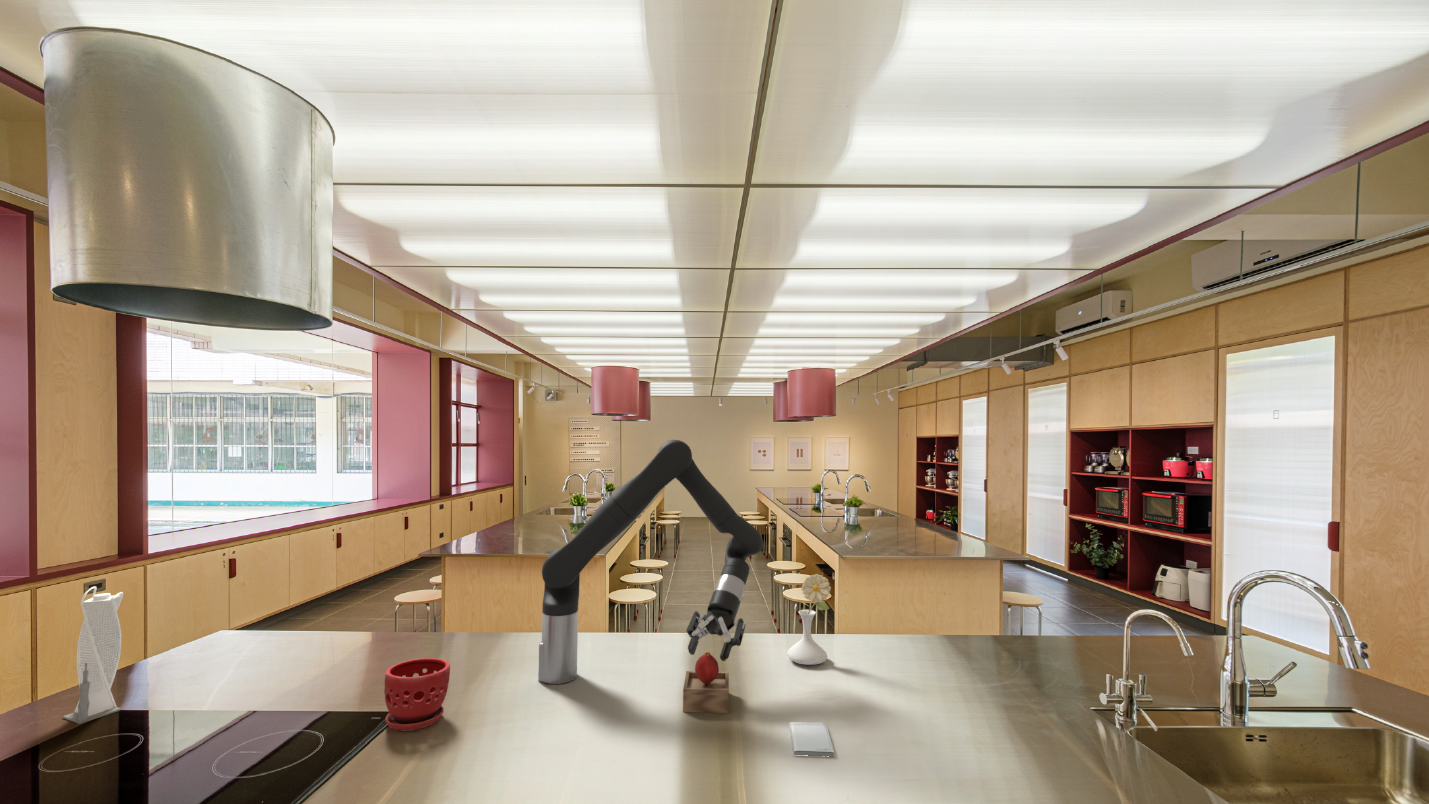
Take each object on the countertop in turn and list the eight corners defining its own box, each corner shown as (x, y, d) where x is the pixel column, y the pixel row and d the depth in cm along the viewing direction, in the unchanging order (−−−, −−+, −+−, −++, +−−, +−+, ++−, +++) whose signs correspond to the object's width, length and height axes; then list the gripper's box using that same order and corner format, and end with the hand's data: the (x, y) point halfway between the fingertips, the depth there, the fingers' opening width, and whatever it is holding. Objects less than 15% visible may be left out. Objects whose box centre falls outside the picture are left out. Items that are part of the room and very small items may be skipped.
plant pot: (439, 733, 129) (440, 676, 129) (373, 738, 127) (375, 679, 127) (455, 706, 142) (456, 654, 142) (395, 709, 140) (397, 657, 140)
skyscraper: (59, 716, 135) (67, 590, 136) (106, 702, 142) (113, 582, 144) (79, 723, 132) (87, 594, 133) (126, 708, 139) (133, 585, 141)
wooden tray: (682, 712, 140) (683, 689, 140) (686, 692, 150) (686, 671, 150) (728, 712, 139) (728, 689, 140) (728, 693, 150) (728, 671, 150)
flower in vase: (779, 662, 170) (780, 573, 171) (798, 651, 179) (798, 566, 181) (822, 673, 163) (822, 580, 164) (839, 660, 172) (839, 572, 173)
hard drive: (834, 752, 121) (826, 722, 133) (793, 750, 121) (789, 721, 133) (834, 760, 121) (826, 729, 133) (793, 759, 121) (789, 728, 133)
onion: (693, 679, 148) (695, 646, 148) (717, 679, 148) (718, 646, 149) (694, 689, 142) (696, 655, 142) (719, 689, 143) (720, 655, 143)
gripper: (698, 585, 157) (675, 643, 146) (748, 592, 151) (728, 653, 140) (707, 601, 161) (685, 658, 150) (756, 608, 155) (737, 669, 144)
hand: (706, 656), depth 145 cm, fingers open, 8 cm apart
